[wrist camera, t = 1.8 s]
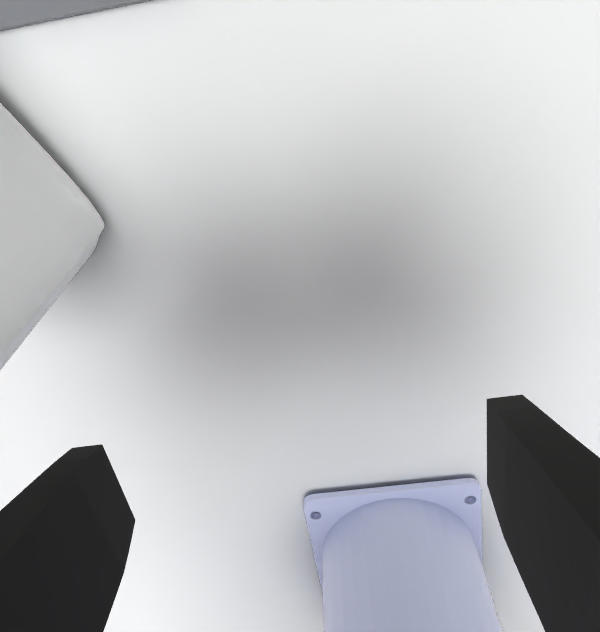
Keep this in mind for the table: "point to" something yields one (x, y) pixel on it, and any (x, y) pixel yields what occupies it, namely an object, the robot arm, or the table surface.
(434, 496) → the robot arm
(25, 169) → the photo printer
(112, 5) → the mat
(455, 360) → the table surface
